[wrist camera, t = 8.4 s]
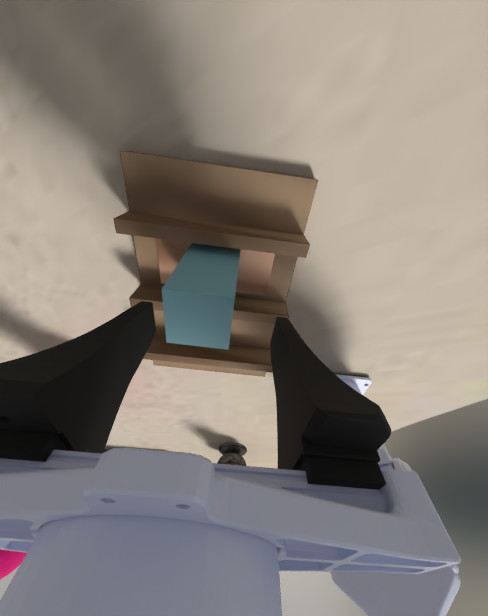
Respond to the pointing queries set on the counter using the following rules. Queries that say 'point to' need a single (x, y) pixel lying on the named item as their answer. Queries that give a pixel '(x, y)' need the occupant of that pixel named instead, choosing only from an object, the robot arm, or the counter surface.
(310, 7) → the counter surface
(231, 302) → the plug block
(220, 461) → the dark grey tall piece
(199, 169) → the slot rack
